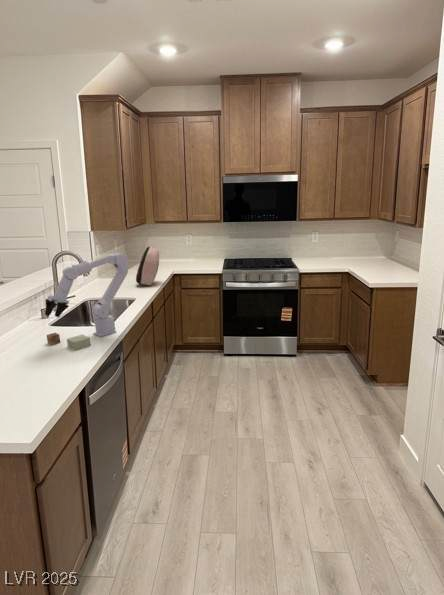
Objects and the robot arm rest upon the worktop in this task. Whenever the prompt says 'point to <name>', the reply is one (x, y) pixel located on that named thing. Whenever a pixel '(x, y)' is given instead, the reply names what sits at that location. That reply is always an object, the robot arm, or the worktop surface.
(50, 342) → the walnut cube
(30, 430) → the worktop surface
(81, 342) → the sage base block
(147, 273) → the pink rounded shell
